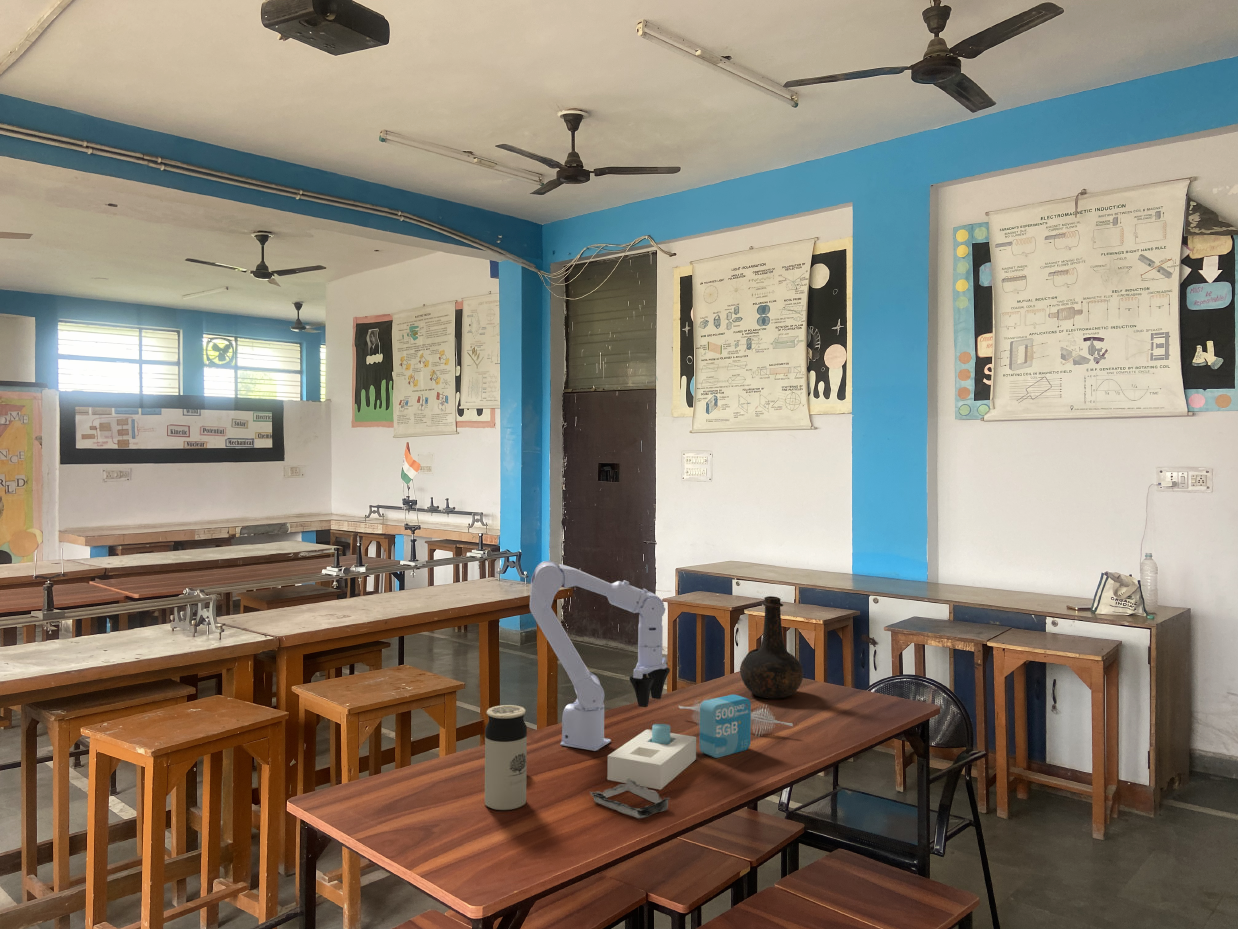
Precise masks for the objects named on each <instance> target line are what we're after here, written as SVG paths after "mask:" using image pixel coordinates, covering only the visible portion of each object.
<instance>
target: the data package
mask: <svg viewBox="0 0 1238 929" xmlns="http://www.w3.org/2000/svg"><path fill="white" fill-rule="evenodd" d="M709 699H710V700H709ZM709 699H704V700H705V701H704V700H703V702H702V701H701V703H700V705H701V706H700V705H699V707H700V708H699V709H700V711H699V712H700V713H699V716H700V717H699V722H700V724H699V751H700V752H701V753H703V754H705V755H707V756H710V757H712V758H714V759H719V758H723V757H726V756H729V755H733V754H736V753H741V752H745V751H747V750H748V749H749V748H750V745H751V734H752V731H751V728H752V726H751V724H752V723H751V722H752V719H751V715H752V712H751V711H752V708H751V707H752V702H751V700H750V699H749V698H746V697H744V696H741V695H738V694H733V693H732V694H728V695H724V696H720V697H719V696H718V697H716V698H709Z"/></svg>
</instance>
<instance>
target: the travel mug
mask: <svg viewBox="0 0 1238 929" xmlns="http://www.w3.org/2000/svg"><path fill="white" fill-rule="evenodd" d="M526 712H527V710H526V709H525V708H524V707H523V706H519V705H515V704H504V705H503V704H502V705H495V706H492V707H489V708H488V709H487V710H486V715H488V716H487V717H488V721H487V724H486V725H485V729H484V730H485V731H484V733H485V734H484V804H485V806H486V807H488V808H491V809H492V810H496V811H512V810H516V809H519V808H521V807H522V806H524V805H525V804H526V802H527V764H528V763H527V756H528V755H527V754H528V752H527V751H528V750H527V748H528V746H527V743H528V741H527V739H528V738H527V737H528V736H527V735H528V732H527V731H528V726H527V724H526V722H525V720H524V716H525V714H526Z"/></svg>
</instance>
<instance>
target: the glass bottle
mask: <svg viewBox="0 0 1238 929" xmlns="http://www.w3.org/2000/svg"><path fill="white" fill-rule="evenodd" d="M763 599H764V602H762V605H763V606H764V620H763V631H762V639H761V645H760V647H759V648H755V649H752V650H750V651H748V653H747V654H746V656H744V658H743V660H742V661H741V664H740V667H739V673H740V677H741V678H740V679H741V680H742V683H743V684H744V686H745V687H746V688H747V690H749V691H750V693H752V694H753V695H755V696H757V697H760V698H762V699H763V698H764V699H776V700H778V699H783V698H787V697H789V696H791V695H792V694H794V693H795V692H797V691H798V689H799V687H800V686H801V684H802V682H803V679H804V670H803V667H802V664H801V662H800V661H799V659H798V658H797V657H796V656H794V655H793V654H791V653H790V652H789V651H788V650H787V649H786V648H787V647H786V646H785V645H786V644H785V640H784V636H783V629H782V628H783V627H782V616H781V614H782V612H781V607H784V604H783V603H781V598H780V597H777V596H773V595H771V596H765V597H764V598H763Z"/></svg>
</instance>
